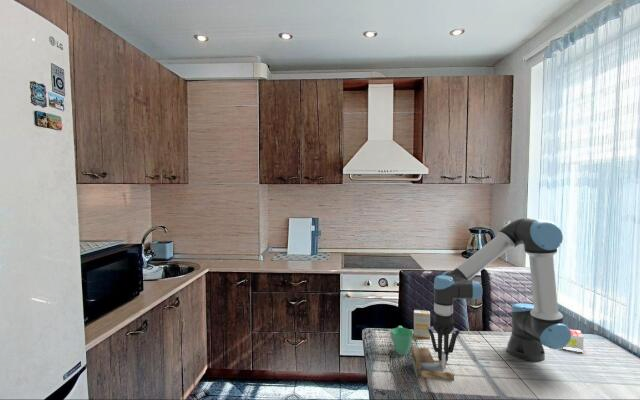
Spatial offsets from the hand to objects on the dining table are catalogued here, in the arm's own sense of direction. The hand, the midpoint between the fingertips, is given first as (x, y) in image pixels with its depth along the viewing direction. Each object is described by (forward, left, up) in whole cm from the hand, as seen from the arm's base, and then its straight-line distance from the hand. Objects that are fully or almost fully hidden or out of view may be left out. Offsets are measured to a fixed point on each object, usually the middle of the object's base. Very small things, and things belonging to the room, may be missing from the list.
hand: (442, 367), depth 140 cm
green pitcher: (+15, -18, -2) cm, 23 cm away
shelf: (+4, 0, -2) cm, 5 cm away
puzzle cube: (-68, -29, -2) cm, 74 cm away
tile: (+5, +1, -2) cm, 6 cm away
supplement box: (+2, -35, -2) cm, 35 cm away
